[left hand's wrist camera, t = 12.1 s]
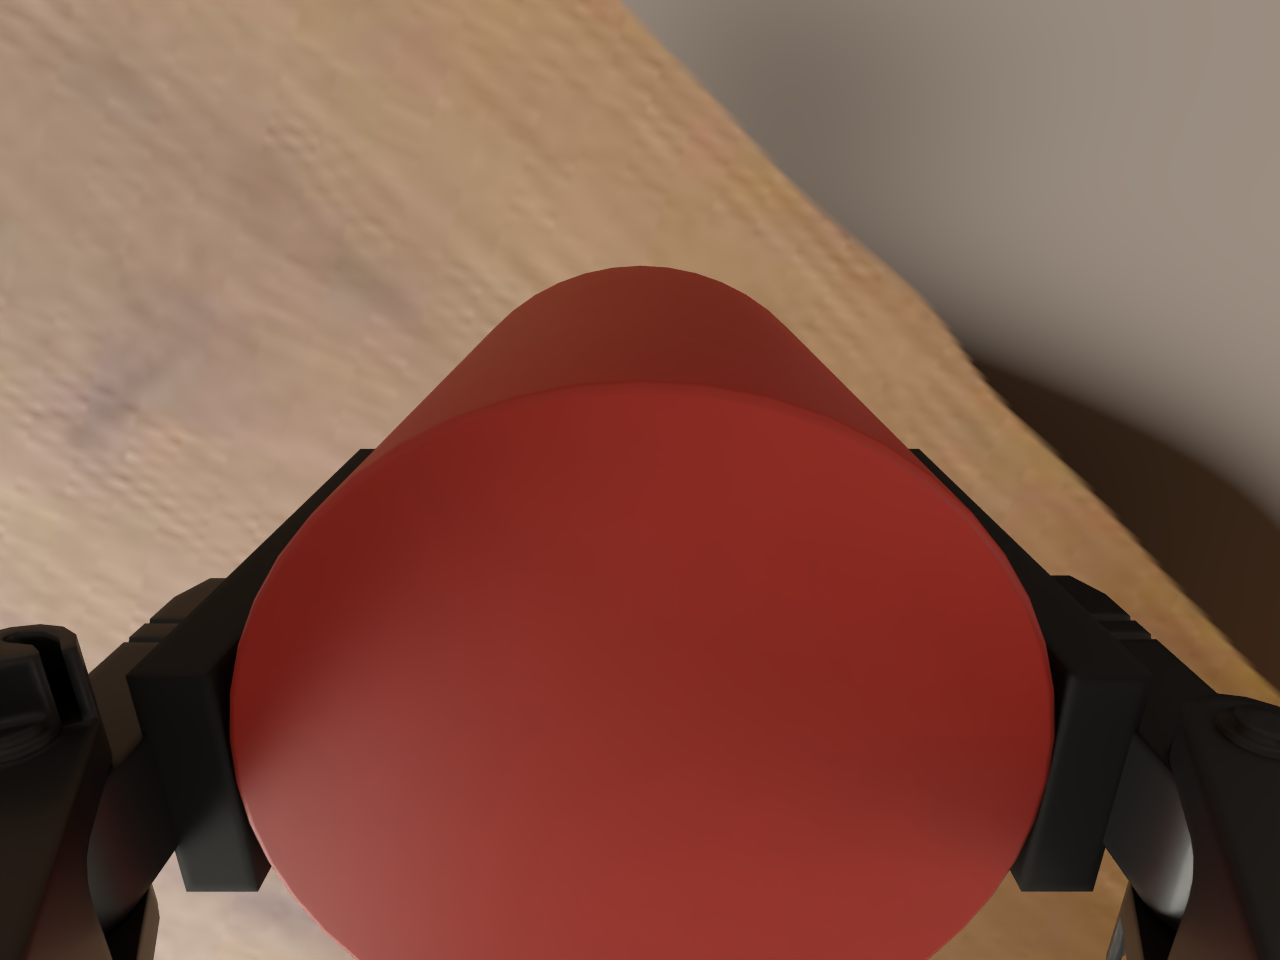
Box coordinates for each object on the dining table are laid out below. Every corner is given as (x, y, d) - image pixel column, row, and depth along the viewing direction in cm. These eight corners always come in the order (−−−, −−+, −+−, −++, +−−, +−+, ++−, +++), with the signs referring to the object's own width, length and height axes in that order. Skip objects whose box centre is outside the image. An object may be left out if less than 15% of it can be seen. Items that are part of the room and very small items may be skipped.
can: (454, 238, 15) (192, 322, 6) (876, 294, 15) (1191, 447, 6) (439, 610, 17) (248, 1023, 9) (792, 650, 18) (933, 1083, 9)
